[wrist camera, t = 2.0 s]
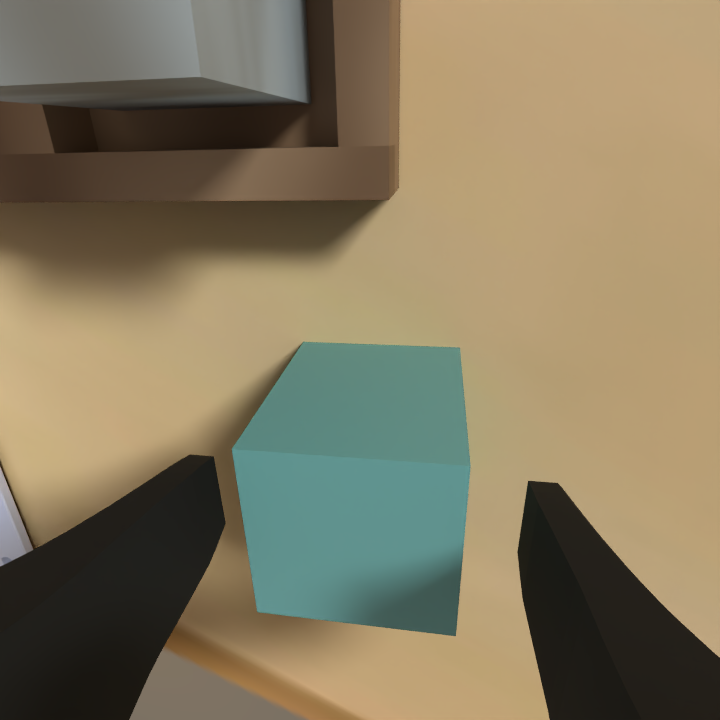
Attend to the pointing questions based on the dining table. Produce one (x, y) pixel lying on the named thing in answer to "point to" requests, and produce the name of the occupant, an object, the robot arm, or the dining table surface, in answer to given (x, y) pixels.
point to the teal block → (359, 487)
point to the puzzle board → (199, 100)
